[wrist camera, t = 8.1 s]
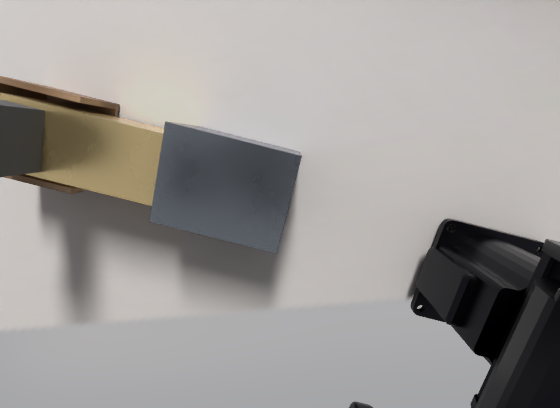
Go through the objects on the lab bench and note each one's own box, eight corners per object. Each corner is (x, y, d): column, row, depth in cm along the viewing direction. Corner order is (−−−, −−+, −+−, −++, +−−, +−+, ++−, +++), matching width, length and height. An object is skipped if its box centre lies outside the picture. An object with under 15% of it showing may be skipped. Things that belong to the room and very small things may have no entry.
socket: (119, 104, 18) (80, 96, 15) (109, 184, 19) (70, 193, 16) (44, 85, 18) (-11, 73, 15) (38, 167, 19) (-15, 172, 16)
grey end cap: (299, 151, 18) (301, 155, 14) (280, 226, 19) (276, 253, 15) (198, 126, 18) (165, 121, 14) (184, 201, 19) (149, 221, 15)
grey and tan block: (207, 139, 18) (111, 139, 8) (196, 198, 19) (96, 256, 9) (58, 102, 18) (-205, 58, 8) (53, 162, 19) (-193, 184, 9)
